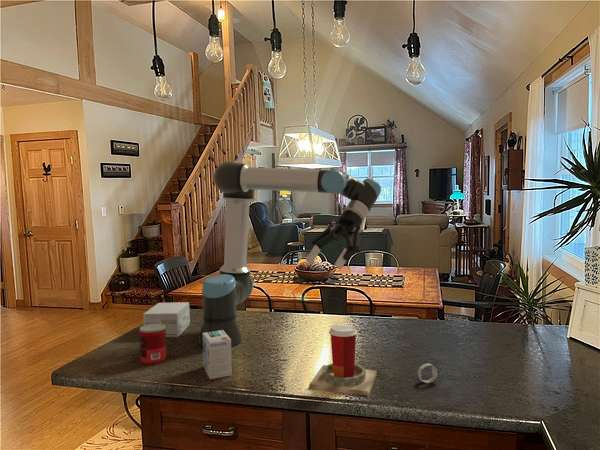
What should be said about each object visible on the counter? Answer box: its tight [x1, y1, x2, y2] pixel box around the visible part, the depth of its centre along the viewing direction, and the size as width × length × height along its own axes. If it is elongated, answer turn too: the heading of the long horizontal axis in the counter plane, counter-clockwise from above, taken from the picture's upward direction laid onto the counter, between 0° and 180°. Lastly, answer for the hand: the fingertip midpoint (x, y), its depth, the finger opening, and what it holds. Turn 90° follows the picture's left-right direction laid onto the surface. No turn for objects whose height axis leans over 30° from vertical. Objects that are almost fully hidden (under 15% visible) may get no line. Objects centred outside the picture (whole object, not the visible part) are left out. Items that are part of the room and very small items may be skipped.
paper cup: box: [328, 323, 358, 378], centre depth 123 cm, size 8×8×14 cm
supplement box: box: [142, 301, 191, 338], centre depth 173 cm, size 17×13×9 cm
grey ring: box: [417, 363, 438, 384], centre depth 122 cm, size 3×5×5 cm, turn 102°
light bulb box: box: [202, 330, 233, 380], centre depth 132 cm, size 11×7×11 cm, turn 23°
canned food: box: [139, 324, 167, 366], centre depth 141 cm, size 8×8×11 cm
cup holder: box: [308, 362, 378, 397], centre depth 123 cm, size 16×14×3 cm
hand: (322, 264), depth 142 cm, fingers open, 13 cm apart
